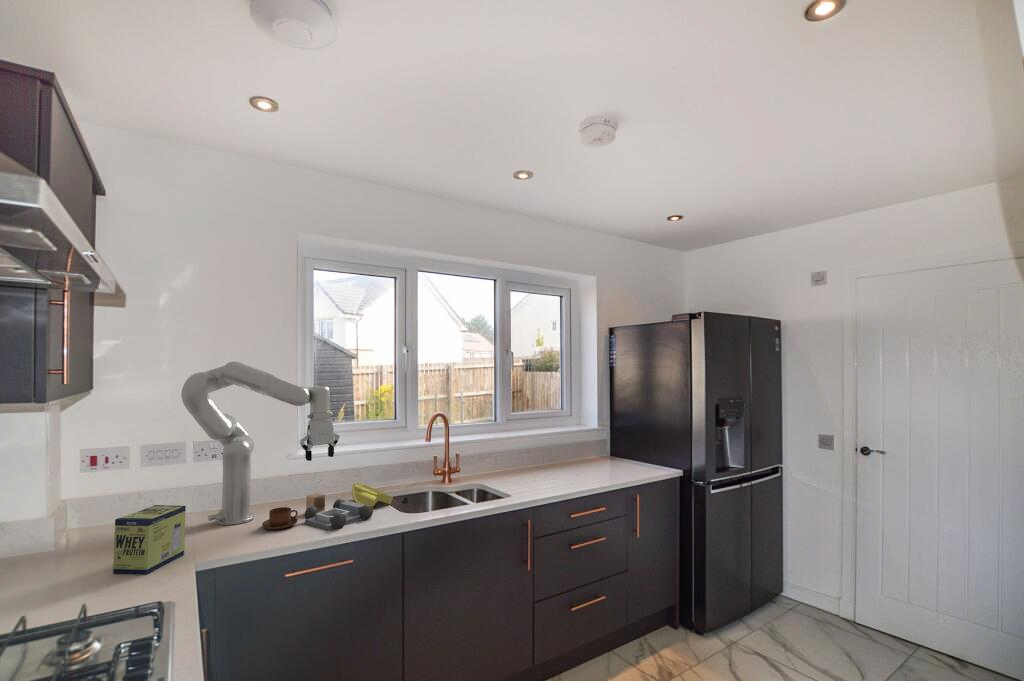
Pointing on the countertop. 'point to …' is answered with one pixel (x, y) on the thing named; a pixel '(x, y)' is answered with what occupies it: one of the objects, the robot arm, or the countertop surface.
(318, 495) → the wooden block
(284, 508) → the cup and saucer
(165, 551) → the protein box
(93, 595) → the countertop surface
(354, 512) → the chassis
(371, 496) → the plastic component
